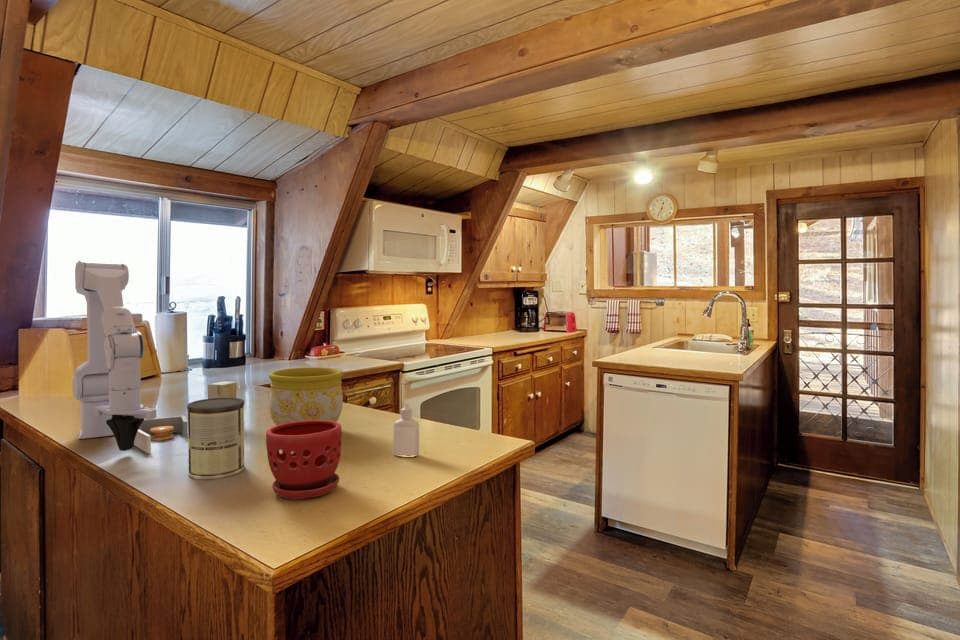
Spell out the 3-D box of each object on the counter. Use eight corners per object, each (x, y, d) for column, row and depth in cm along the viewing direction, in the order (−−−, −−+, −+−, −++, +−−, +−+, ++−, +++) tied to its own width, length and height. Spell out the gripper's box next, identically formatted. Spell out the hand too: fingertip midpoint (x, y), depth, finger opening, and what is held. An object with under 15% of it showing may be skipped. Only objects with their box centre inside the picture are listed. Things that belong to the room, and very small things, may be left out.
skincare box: (221, 431, 135) (221, 385, 134) (206, 430, 136) (206, 384, 135) (237, 425, 141) (237, 381, 141) (223, 424, 142) (223, 380, 141)
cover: (136, 443, 123) (136, 427, 122) (152, 453, 116) (151, 435, 115) (130, 444, 122) (130, 428, 122) (146, 454, 115) (145, 436, 115)
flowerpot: (283, 449, 120) (282, 379, 119) (259, 433, 133) (259, 370, 133) (354, 437, 131) (355, 373, 130) (326, 423, 145) (326, 365, 144)
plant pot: (348, 478, 101) (348, 417, 101) (331, 504, 88) (331, 435, 88) (281, 477, 101) (281, 417, 100) (254, 504, 88) (253, 435, 87)
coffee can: (179, 471, 104) (178, 402, 103) (230, 459, 112) (230, 395, 111) (201, 484, 97) (200, 410, 97) (254, 470, 105) (253, 401, 105)
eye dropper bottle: (407, 460, 113) (407, 406, 112) (390, 455, 116) (390, 402, 116) (421, 456, 116) (422, 403, 115) (405, 451, 120) (405, 399, 119)
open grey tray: (136, 436, 129) (136, 420, 129) (184, 430, 135) (184, 415, 135) (136, 443, 123) (136, 427, 123) (187, 437, 129) (187, 421, 128)
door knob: (149, 437, 129) (149, 427, 129) (173, 434, 132) (172, 424, 132) (150, 442, 125) (150, 431, 125) (174, 439, 128) (174, 429, 128)
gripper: (167, 386, 115) (168, 446, 116) (114, 383, 118) (115, 442, 119) (140, 392, 108) (141, 456, 109) (84, 388, 111) (86, 450, 112)
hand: (126, 449), depth 113 cm, fingers closed
